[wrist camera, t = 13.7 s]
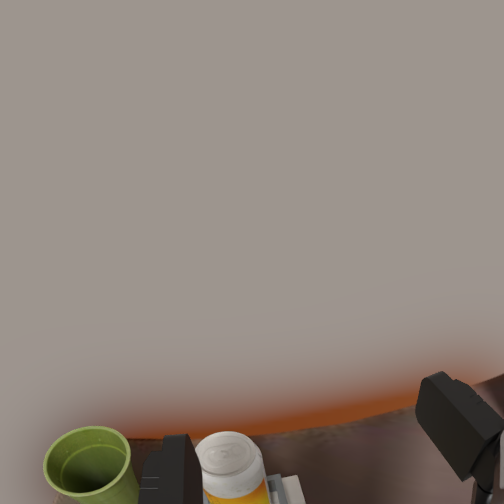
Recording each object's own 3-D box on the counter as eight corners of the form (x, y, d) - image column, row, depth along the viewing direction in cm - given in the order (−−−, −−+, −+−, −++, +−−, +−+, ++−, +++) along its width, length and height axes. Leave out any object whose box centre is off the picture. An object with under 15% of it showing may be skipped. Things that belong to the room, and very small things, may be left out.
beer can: (217, 510, 29) (183, 438, 25) (264, 496, 31) (246, 420, 27) (232, 547, 24) (197, 487, 20) (283, 531, 25) (271, 465, 21)
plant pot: (170, 480, 35) (143, 429, 32) (151, 547, 24) (110, 507, 21) (100, 469, 36) (67, 419, 33) (73, 525, 25) (27, 479, 22)
